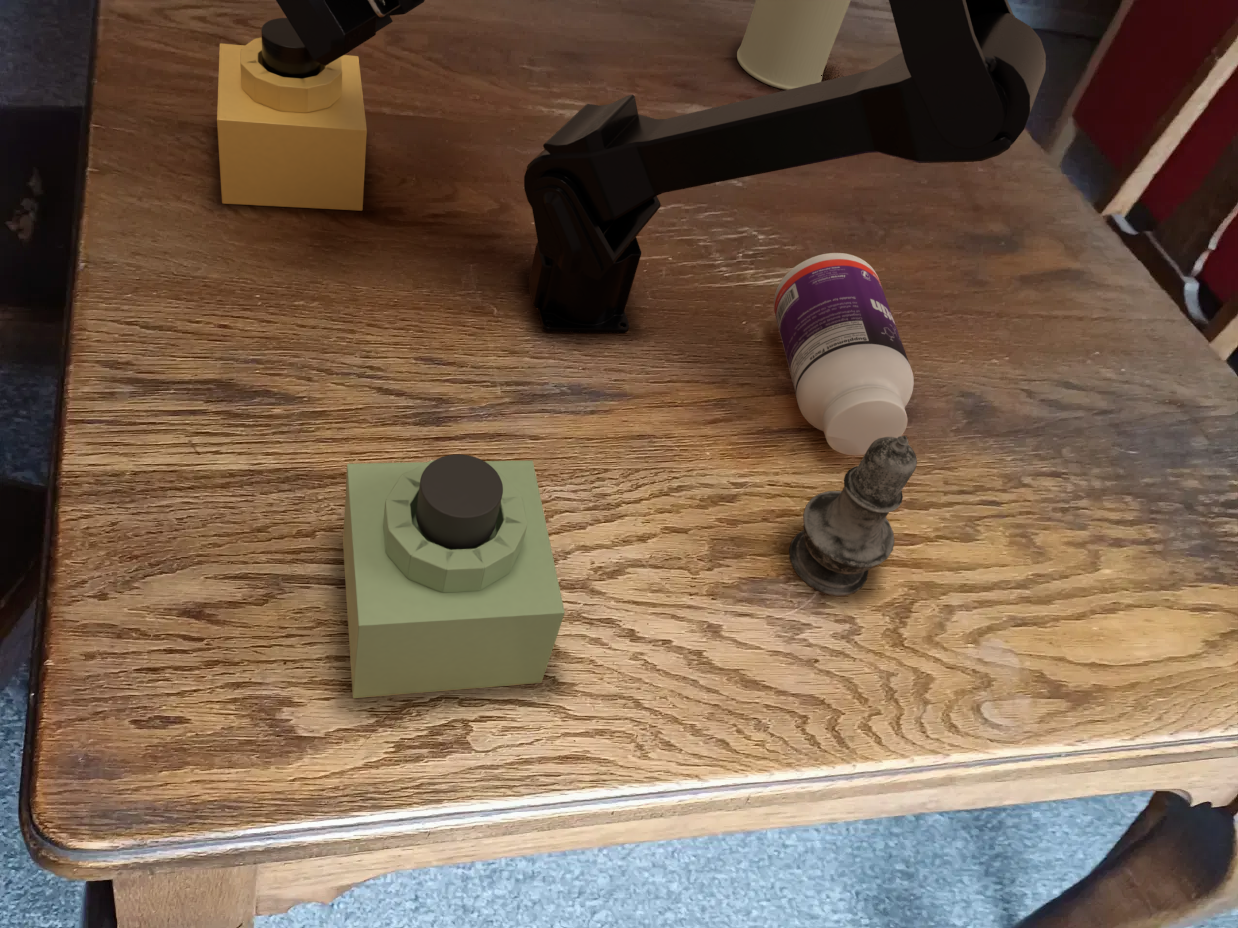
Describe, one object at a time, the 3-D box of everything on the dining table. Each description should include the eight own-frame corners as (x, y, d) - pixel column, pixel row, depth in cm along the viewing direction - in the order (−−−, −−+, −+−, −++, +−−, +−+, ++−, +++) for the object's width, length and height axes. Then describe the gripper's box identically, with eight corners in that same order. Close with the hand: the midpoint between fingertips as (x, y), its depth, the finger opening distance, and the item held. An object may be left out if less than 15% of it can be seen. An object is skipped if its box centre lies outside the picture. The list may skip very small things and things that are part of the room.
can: (725, 40, 113) (761, -75, 105) (803, 47, 116) (844, -64, 108) (752, 88, 108) (792, -30, 99) (833, 94, 111) (879, -19, 102)
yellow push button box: (354, 135, 88) (359, 31, 81) (362, 211, 82) (368, 105, 75) (224, 126, 85) (218, 17, 78) (222, 203, 79) (215, 93, 72)
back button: (319, 54, 79) (320, 21, 77) (321, 83, 76) (322, 50, 74) (262, 48, 78) (261, 15, 76) (262, 78, 75) (261, 44, 73)
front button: (490, 485, 56) (497, 453, 54) (501, 547, 53) (508, 516, 51) (412, 487, 54) (416, 454, 53) (419, 551, 52) (424, 519, 50)
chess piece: (870, 611, 67) (956, 489, 58) (780, 583, 67) (853, 457, 58) (873, 539, 71) (954, 416, 62) (788, 514, 71) (857, 386, 62)
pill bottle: (884, 309, 83) (934, 449, 74) (783, 340, 85) (820, 480, 76) (867, 231, 77) (920, 373, 68) (759, 265, 79) (796, 408, 70)
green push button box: (514, 535, 65) (538, 435, 58) (541, 683, 59) (572, 590, 52) (342, 542, 62) (348, 437, 55) (352, 698, 56) (360, 601, 49)
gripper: (474, -257, 67) (319, -137, 76) (290, -194, 54) (132, -61, 64) (562, -80, 72) (406, 12, 81) (412, 15, 59) (248, 111, 69)
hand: (307, 15), depth 74 cm, fingers closed
